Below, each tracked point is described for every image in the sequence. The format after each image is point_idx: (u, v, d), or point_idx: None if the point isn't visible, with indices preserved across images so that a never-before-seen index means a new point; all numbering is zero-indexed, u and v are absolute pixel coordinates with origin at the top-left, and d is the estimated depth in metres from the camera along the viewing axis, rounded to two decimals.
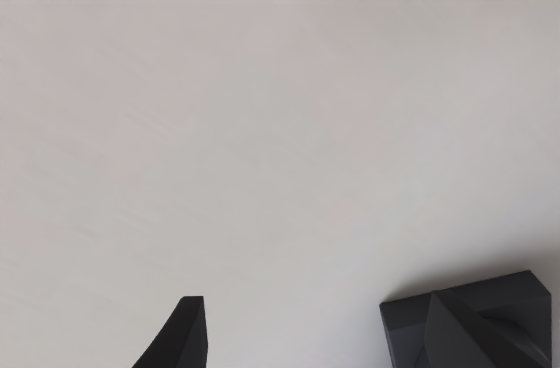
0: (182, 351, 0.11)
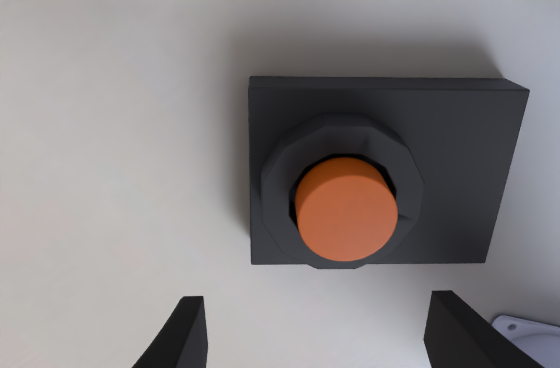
0: (182, 351, 0.11)
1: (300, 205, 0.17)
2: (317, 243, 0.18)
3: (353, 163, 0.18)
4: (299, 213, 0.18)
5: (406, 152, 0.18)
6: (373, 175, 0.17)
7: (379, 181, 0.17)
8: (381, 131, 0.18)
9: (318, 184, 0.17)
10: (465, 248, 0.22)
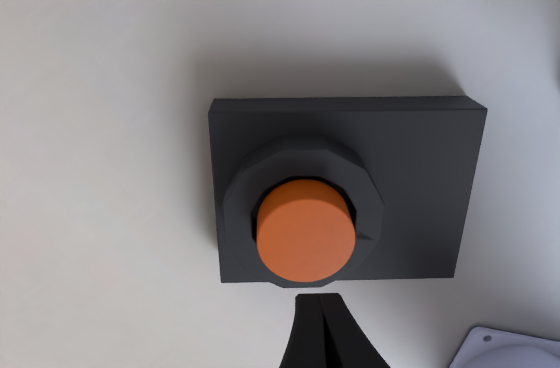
0: (324, 347, 0.11)
1: (258, 228, 0.18)
2: (277, 265, 0.18)
3: (311, 185, 0.18)
4: (257, 236, 0.18)
5: (363, 174, 0.18)
6: (329, 198, 0.18)
7: (335, 204, 0.17)
8: (337, 154, 0.18)
9: (274, 208, 0.17)
10: (433, 263, 0.23)
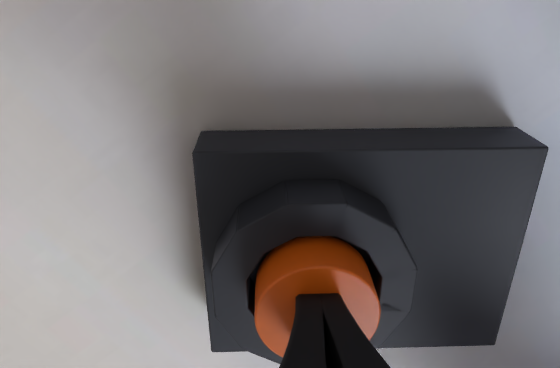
0: (324, 347, 0.11)
1: (257, 301, 0.14)
2: (281, 345, 0.14)
3: (324, 245, 0.14)
4: (255, 311, 0.14)
5: (392, 233, 0.14)
6: (348, 263, 0.14)
7: (355, 272, 0.13)
8: (359, 209, 0.14)
9: (277, 278, 0.13)
10: (470, 329, 0.18)
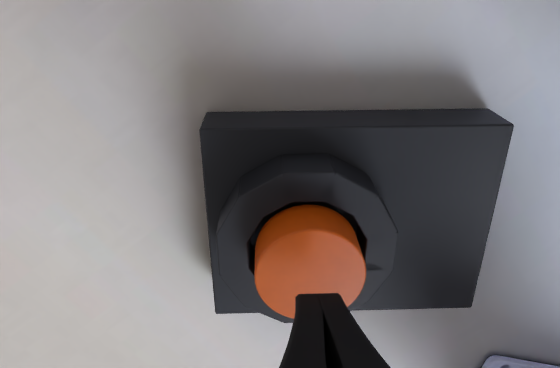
0: (324, 347, 0.11)
1: (256, 262, 0.16)
2: (278, 302, 0.16)
3: (316, 213, 0.16)
4: (255, 271, 0.16)
5: (375, 199, 0.16)
6: (337, 228, 0.15)
7: (343, 235, 0.15)
8: (346, 177, 0.16)
9: (274, 240, 0.15)
10: (449, 292, 0.20)
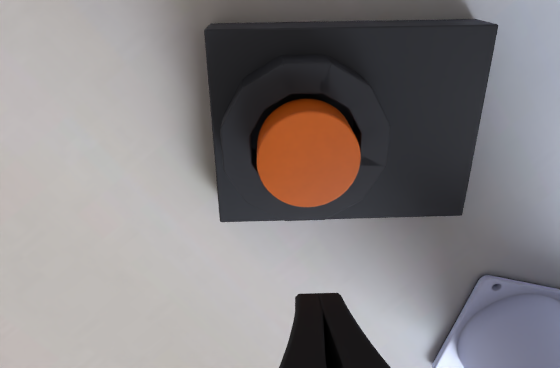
0: (324, 347, 0.11)
1: (258, 147, 0.17)
2: (278, 188, 0.17)
3: (313, 103, 0.17)
4: (257, 155, 0.17)
5: (368, 90, 0.17)
6: (333, 113, 0.17)
7: (339, 118, 0.16)
8: (341, 68, 0.17)
9: (275, 123, 0.16)
10: (440, 199, 0.22)
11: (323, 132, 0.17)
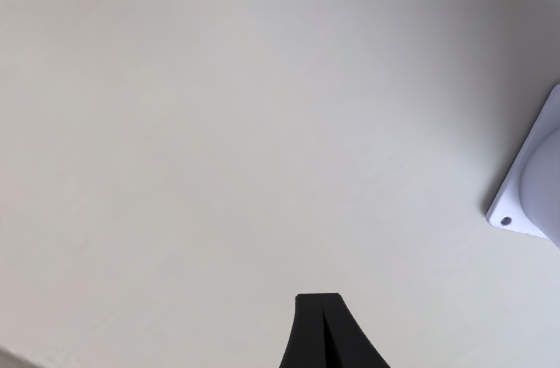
0: (324, 347, 0.11)
1: None
2: None
3: None
4: None
5: None
6: None
7: None
8: None
9: None
10: None
11: None
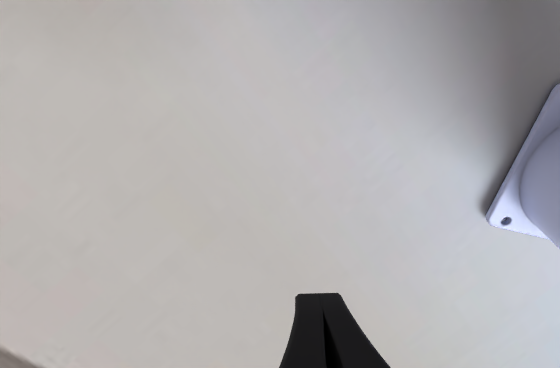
0: (324, 347, 0.11)
1: None
2: None
3: None
4: None
5: None
6: None
7: None
8: None
9: None
10: None
11: None
